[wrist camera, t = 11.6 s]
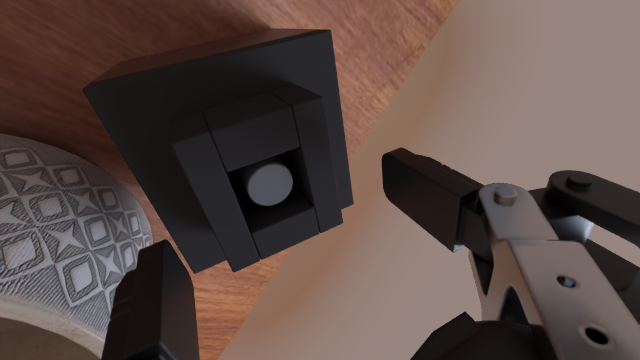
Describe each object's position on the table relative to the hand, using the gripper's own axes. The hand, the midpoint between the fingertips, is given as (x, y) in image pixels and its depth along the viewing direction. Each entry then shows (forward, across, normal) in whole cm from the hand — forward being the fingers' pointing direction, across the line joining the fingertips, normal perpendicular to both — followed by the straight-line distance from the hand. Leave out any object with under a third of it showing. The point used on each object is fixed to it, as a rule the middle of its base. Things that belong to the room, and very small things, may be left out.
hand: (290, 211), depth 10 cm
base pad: (+6, 0, 0) cm, 6 cm away
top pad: (+5, 0, 0) cm, 5 cm away
